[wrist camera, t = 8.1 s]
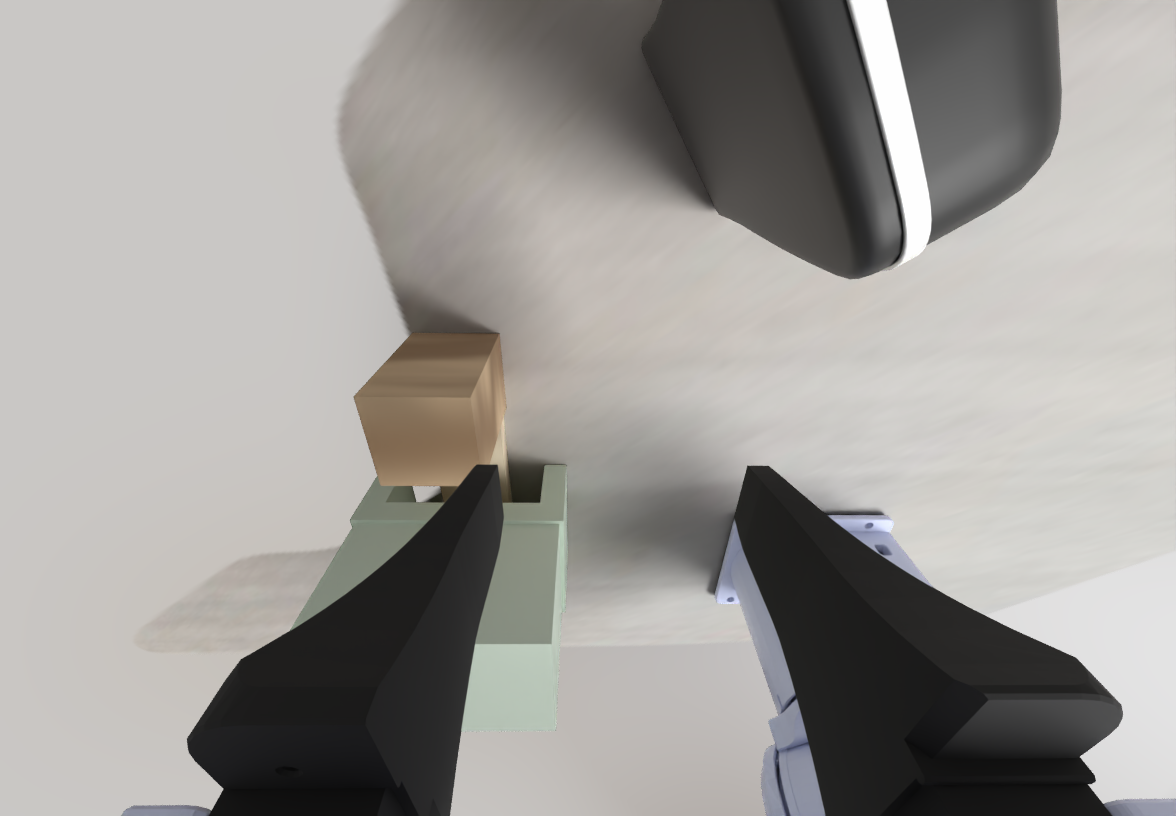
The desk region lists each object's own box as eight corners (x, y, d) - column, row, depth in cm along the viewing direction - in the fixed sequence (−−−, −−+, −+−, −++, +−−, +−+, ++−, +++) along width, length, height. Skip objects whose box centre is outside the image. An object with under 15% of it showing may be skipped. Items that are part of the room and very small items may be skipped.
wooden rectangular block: (412, 332, 20) (353, 396, 15) (499, 333, 20) (470, 397, 15) (455, 541, 27) (425, 633, 22) (519, 541, 27) (504, 633, 22)
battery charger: (810, 163, 17) (1134, 188, 7) (719, 223, 18) (887, 316, 8) (737, -50, 14) (1130, -547, 4) (632, 37, 15) (731, -182, 5)
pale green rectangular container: (384, 464, 24) (273, 641, 15) (566, 464, 24) (556, 640, 15) (410, 553, 28) (333, 737, 19) (567, 554, 28) (560, 736, 19)
